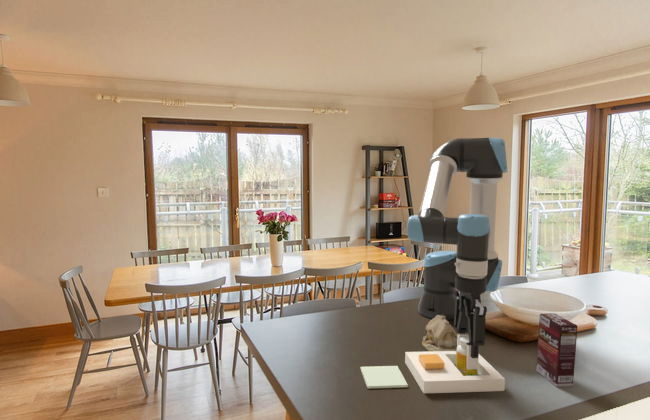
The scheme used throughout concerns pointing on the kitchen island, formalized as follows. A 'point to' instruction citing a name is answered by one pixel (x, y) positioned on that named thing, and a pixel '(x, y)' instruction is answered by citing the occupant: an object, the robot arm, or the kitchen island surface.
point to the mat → (383, 377)
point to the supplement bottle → (463, 358)
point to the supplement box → (556, 349)
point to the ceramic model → (440, 335)
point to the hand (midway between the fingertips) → (466, 362)
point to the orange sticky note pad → (431, 361)
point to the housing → (453, 375)
